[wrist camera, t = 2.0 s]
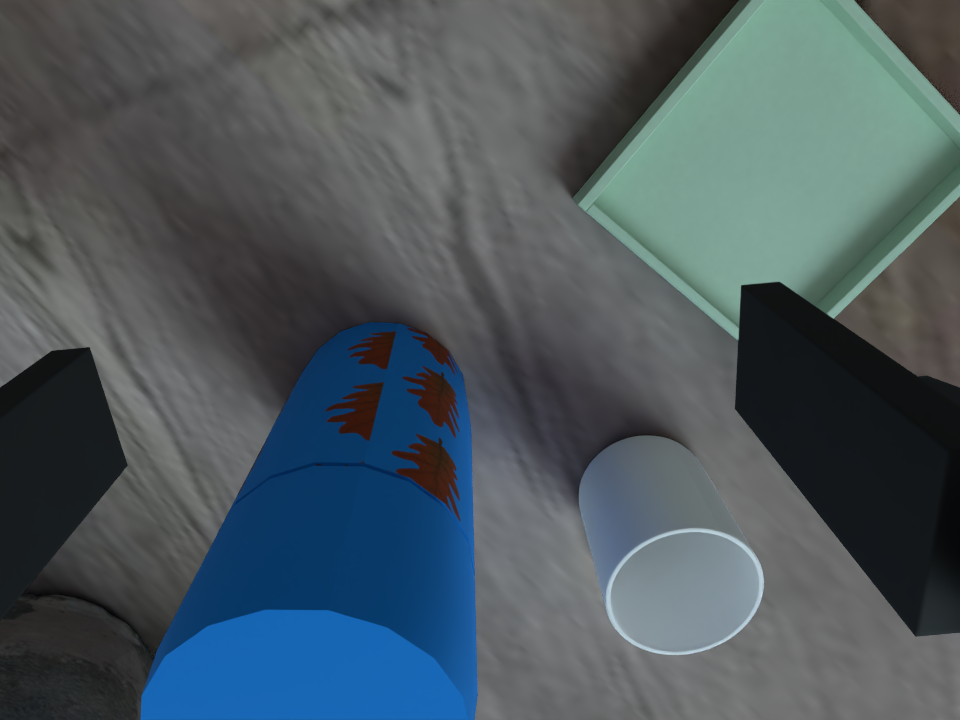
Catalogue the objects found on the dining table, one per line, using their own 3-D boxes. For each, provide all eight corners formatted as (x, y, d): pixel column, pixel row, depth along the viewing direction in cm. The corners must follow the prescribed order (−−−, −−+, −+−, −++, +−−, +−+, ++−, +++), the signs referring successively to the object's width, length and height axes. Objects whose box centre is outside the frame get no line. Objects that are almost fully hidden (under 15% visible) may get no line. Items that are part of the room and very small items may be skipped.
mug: (652, 589, 52) (696, 712, 42) (550, 480, 49) (573, 588, 39) (753, 524, 50) (825, 637, 40) (656, 405, 47) (708, 498, 37)
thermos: (376, 500, 49) (298, 893, 26) (263, 387, 46) (58, 723, 22) (503, 409, 47) (544, 753, 23) (394, 284, 43) (317, 539, 20)
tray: (571, 198, 42) (577, 204, 40) (782, -53, 37) (800, -59, 35) (763, 360, 46) (776, 373, 44) (974, 153, 41) (1000, 157, 39)
